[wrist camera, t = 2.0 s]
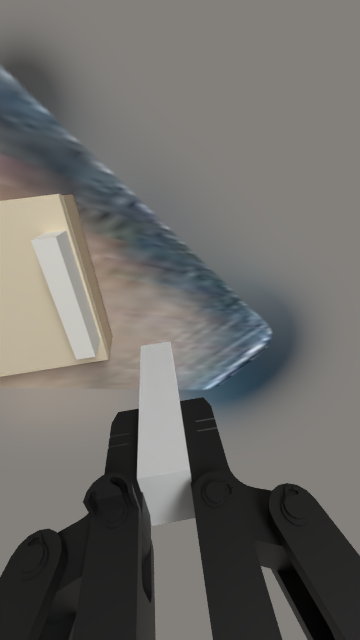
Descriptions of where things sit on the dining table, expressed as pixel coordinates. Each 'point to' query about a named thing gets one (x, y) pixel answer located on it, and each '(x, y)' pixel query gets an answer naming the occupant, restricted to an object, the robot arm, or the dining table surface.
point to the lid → (43, 290)
